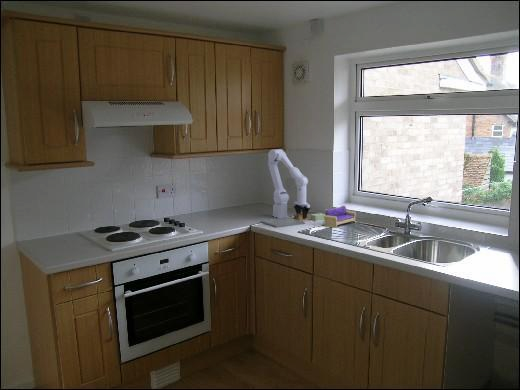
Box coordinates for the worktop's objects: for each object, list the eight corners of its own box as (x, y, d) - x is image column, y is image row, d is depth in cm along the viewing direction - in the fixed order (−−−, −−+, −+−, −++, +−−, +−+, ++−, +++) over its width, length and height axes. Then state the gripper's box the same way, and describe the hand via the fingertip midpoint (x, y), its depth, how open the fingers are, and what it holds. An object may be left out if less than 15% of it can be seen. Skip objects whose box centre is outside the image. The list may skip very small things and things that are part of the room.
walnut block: (294, 219, 285) (294, 214, 284) (304, 218, 289) (304, 213, 289) (299, 221, 280) (299, 215, 280) (309, 219, 285) (309, 214, 284)
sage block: (310, 220, 285) (310, 214, 285) (320, 218, 289) (320, 213, 289) (315, 221, 281) (315, 215, 280) (325, 220, 285) (325, 214, 284)
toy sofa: (335, 228, 259) (335, 210, 258) (323, 226, 265) (323, 209, 264) (356, 223, 274) (356, 206, 272) (344, 221, 280) (344, 204, 278)
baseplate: (260, 222, 278) (260, 220, 277) (287, 219, 288) (287, 217, 287) (276, 227, 262) (276, 225, 262) (304, 223, 272) (304, 221, 272)
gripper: (314, 197, 279) (313, 218, 280) (300, 194, 291) (300, 215, 293) (304, 197, 275) (304, 219, 277) (291, 195, 287) (291, 216, 289)
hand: (301, 217), depth 285 cm, fingers closed on walnut block, 6 cm apart
